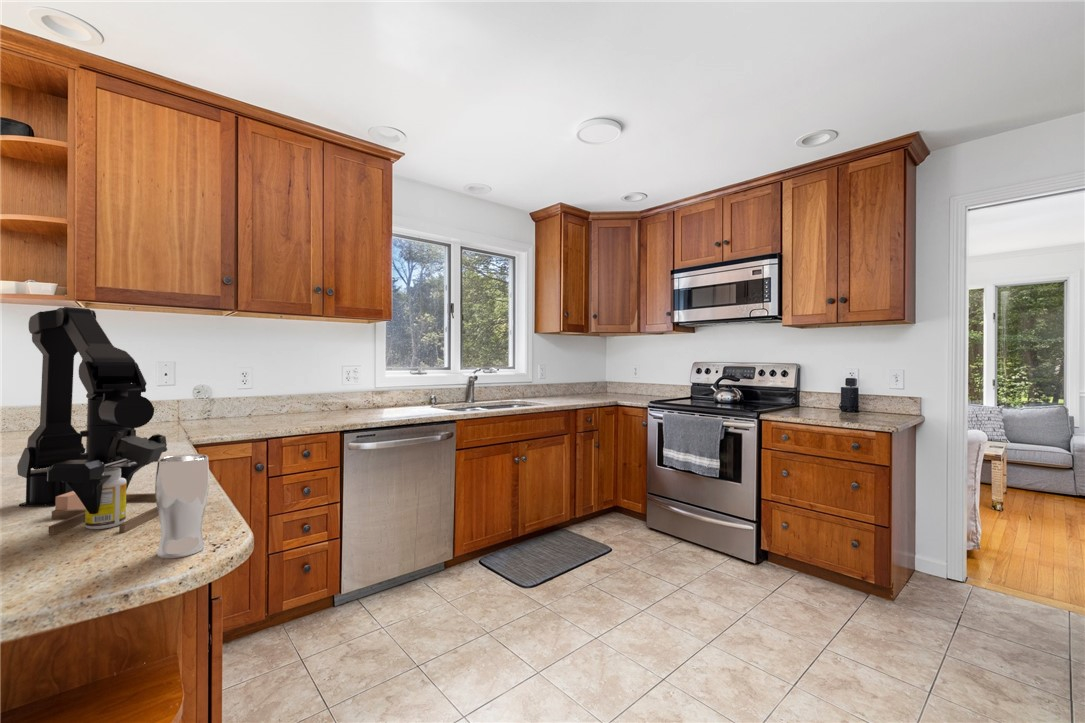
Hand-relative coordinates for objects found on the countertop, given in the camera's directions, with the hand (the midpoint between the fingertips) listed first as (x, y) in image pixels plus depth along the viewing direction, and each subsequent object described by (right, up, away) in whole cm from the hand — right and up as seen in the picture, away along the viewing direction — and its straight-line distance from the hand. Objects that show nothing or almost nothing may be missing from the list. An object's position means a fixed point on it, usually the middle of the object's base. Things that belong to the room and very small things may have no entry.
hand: (105, 508), depth 88 cm
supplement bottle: (0, -3, 0) cm, 3 cm away
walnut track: (-4, -3, +5) cm, 7 cm away
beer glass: (+22, -4, -11) cm, 25 cm away
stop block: (-13, -3, +9) cm, 16 cm away
